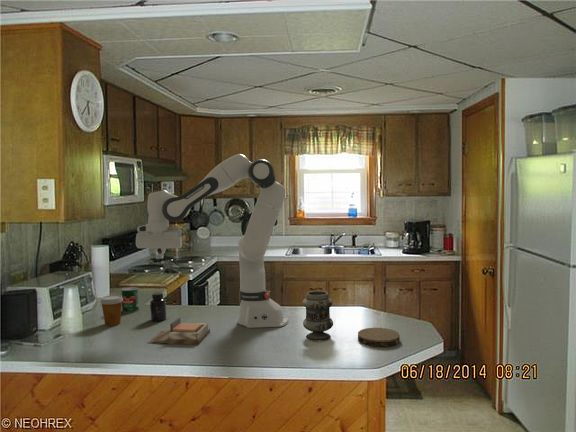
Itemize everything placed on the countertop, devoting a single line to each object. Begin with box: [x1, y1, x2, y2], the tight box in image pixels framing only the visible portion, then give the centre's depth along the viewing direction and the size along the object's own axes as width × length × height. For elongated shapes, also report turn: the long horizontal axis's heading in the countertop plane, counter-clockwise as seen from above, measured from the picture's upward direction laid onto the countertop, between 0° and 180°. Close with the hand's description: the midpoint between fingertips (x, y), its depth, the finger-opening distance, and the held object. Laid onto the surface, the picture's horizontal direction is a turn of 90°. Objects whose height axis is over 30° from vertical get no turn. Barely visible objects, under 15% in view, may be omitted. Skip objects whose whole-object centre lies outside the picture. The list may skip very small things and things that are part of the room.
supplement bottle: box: [149, 292, 167, 322], centre depth 222 cm, size 7×7×12 cm
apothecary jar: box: [302, 290, 334, 342], centre depth 193 cm, size 12×12×18 cm
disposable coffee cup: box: [100, 294, 123, 327], centre depth 216 cm, size 10×10×12 cm
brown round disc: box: [357, 327, 401, 349], centre depth 189 cm, size 16×16×3 cm
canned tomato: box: [120, 286, 140, 314], centre depth 238 cm, size 8×8×11 cm
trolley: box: [169, 317, 203, 333], centre depth 194 cm, size 10×8×6 cm
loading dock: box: [146, 322, 211, 346], centre depth 196 cm, size 21×15×5 cm
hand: (159, 258), depth 213 cm, fingers closed
